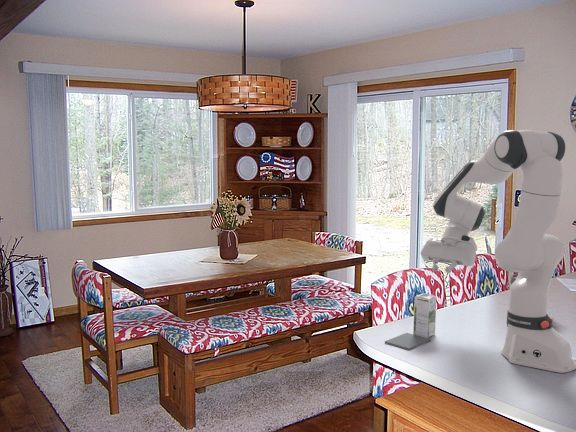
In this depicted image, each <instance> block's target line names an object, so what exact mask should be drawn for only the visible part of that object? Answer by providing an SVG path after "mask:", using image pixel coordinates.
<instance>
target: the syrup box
mask: <svg viewBox="0 0 576 432" xmlns="http://www.w3.org/2000/svg"><path fill="white" fill-rule="evenodd" d="M413 305H414V307H413V308H414V309H413V310H414V311H413V333H412V334H414V335H417V336H421V337H425V338H428V339H431V337H433V336H434V335H435V334H436V318H437V317H436V315H437V312H436V311H437V296H436V295H434V294H430V293H425V292H423V293H420V294H418V295H416V296H414V304H413Z"/></svg>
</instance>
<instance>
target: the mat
mask: <svg viewBox="0 0 576 432" xmlns="http://www.w3.org/2000/svg"><path fill="white" fill-rule="evenodd" d="M431 342H432V338H425V337H421V336H417V335H414V334H413V333H409V332H405V333H402V334H400V335H397V336H394V337H392V338H389V339H387V340H385V341H384V344H386V345H391V346H394V347H397V348H400V349H404V350H407V351H410V350H413V349H416V348H418V347H420V346H423V345H424V344H427V343H431Z"/></svg>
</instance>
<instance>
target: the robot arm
mask: <svg viewBox="0 0 576 432" xmlns="http://www.w3.org/2000/svg"><path fill="white" fill-rule="evenodd" d="M565 153H566V143H565V140H564V138H563V137H562V136H561V135H560V134H558V133H555V132H552V131H540V130H534V129H519V130H516V129H509V130H505V131H501V132H500V133H499V134H498V135H497V137H495V139H494V140H493V141H492V142H491V144H489V146H488V148H487V149H486V151H485V153H484V154H483V155H482V156H481V157H480V158H478V159H476V160H470V161H469V162H467V163H466V164H465V165H464V166H463V167H462V168H461V169H460V170H459V172H457V174H456V175H455V176H454V177H453V178H452V180H451V181H449V183H448V185H447V186H445V188H444V189H443V190H442V191H440V192H439V193H438V194H437V196H435V199H434V200H433V205H432V209H434V212H435V214H436V215H437V216H440V217H441V218H446V219H448V220H449V221H448V224H447V227H446V228H445V230H444V232H443V234H442V237H441V239H439V238H438V239H437V238H431V239H429V240H428V239H427V240H426V241H425V245H423V248H422V249H421V250H420V257H421V258H422V259H423V260H424V261H429V262H432V268H431V269H432V271H435V272H438V269H439V266H438V264H439V263H443V264H449V265H447V266H446V267H445V269H444V272H445V273H447V274H450V273H451V272H452V270H454V269H455V268H456V267H457V266H458V265H459V266H465V267H472V266H473V265H474V264H475V262H476V259H477V250H478V245H477V243H476V241H475V239H474V238H473V237H471V236H470V235H469V234H470V233H471V232H474V231H476V230H478V229H479V228H480V227H481V225H482V223H483V219H484V217H485V216H486V211H485V209H484V206H483V205H482V204H480V203H478V202H475V201H474V200H471V199H468V198H467V197H464V196H463V195H460V194H458V193H459V191H460V190H461V189H462V188H463V187H465V186H464V185H466V184H469V183H480V184H486V185H497V184H501V183H503V182H506V181H507V180H509V178H510V177H511V175H512V174H513V173H514V171H515V170H516V169H519V167H520V169H521V170H522V172H523V180H522V184H521V191H520V197H519V203H518V207H517V210H516V213H515V218H514V220H513V222H512V224H511V226H510V228H509V231H508V232H507V233H506V235H505V237H504V238H503V240H501V241H500V242H499V243H498V244H497V245H496V247H495V249H494V260H495V262H496V264H497V265H498V267H499V268H501V270H503V271H506V272H511V273H517V274H518V276H517V278H516V280H515V281H514V282H513V283H512V285H511V284H510V287H509V297H508V299H509V301H508V302H509V303H508V310H507V314H506V327H507V329H506V330H507V331H506V336H505V342H504V344H503V348H502V349H501V354H502V355H503V357H505V358H506V359H507V360H508V362H509V363H511V364H514V365H519V366H525V367H529V368H535V369H540V370H543V371H549V372H552V373H553V372H555V373H560V374H561V373H562V374H563V373H565V374H566V373H570V372H573V371H574V370H576V357H574V356H573V354H572V347H571V343H570V342H569V341H568V340H567V339H566V337H565V338H564V336H562V335H561V334H560V333H559V332H558V331H557V330H555V328H554V327H553V323H554V322H555V317H552V318H551V317H550V316H549V315H548V312H547V311H548V310H547V309H548V296H549V295H548V294H549V289H550V284H551V282H552V279H553V276H554V273H555V271H556V269H557V267H558V265H559V263H561V261H562V260H563V259H564V256H565V253H566V250H565V249H566V248H565V244H564V242H563V241H562V240H561V239H560V238H559V237H558V236H556V235H554V234H549V233H546V232H547V231H548V229H549V228H550V227H551V226H552V225H553V224H554V222H555V220H556V219H557V217H558V216H557V214H558V208H559V204H560V199H561V198H560V197H561V193H562V185H563V165H562V163H561V161H562V159H563V158H564V157H565Z"/></svg>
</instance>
